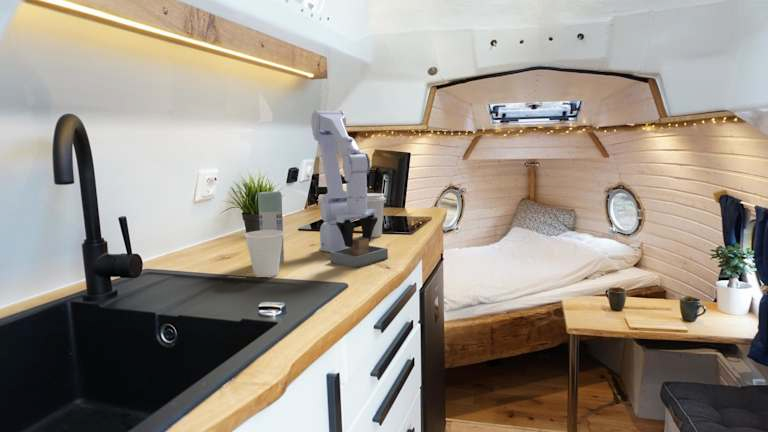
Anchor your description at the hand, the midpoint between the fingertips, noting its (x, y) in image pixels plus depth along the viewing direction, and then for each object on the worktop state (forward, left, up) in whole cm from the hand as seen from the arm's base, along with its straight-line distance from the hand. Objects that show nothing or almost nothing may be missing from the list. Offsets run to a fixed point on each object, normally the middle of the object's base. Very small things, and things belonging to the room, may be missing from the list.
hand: (357, 244), depth 146 cm
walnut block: (+1, 0, -4) cm, 4 cm away
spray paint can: (-19, -16, -5) cm, 25 cm away
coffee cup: (-21, +31, -5) cm, 38 cm away
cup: (-9, -26, -5) cm, 27 cm away
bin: (0, 0, -5) cm, 5 cm away
